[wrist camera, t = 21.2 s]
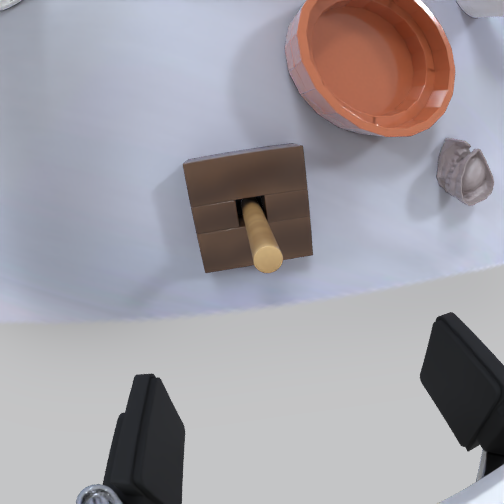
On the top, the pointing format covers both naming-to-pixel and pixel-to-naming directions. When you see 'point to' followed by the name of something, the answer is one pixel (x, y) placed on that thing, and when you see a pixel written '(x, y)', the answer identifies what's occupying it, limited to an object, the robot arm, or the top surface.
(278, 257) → the light wooden dowel
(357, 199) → the top surface
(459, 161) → the dental mold
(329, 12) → the mixing bowl
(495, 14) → the dixie cup
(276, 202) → the holder
